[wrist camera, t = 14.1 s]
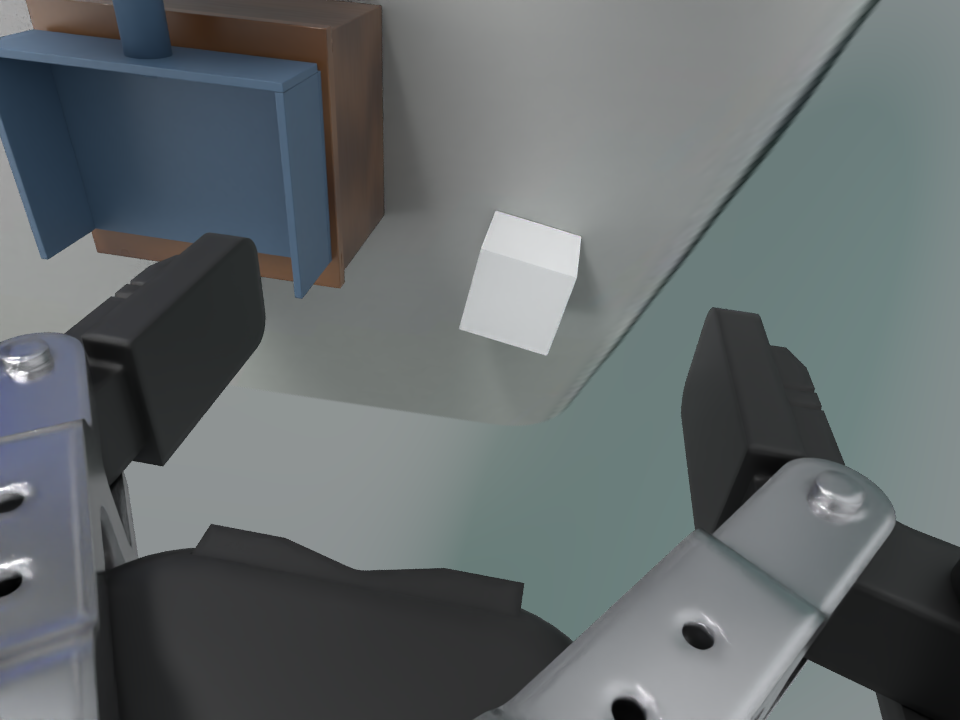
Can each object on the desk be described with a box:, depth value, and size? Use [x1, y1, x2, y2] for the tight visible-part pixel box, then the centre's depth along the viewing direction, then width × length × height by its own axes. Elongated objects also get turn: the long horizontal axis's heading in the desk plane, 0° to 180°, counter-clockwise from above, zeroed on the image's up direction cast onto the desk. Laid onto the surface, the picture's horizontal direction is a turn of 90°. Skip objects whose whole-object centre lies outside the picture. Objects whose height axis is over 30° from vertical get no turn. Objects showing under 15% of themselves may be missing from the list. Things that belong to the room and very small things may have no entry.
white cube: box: [459, 211, 581, 356], centre depth 44 cm, size 6×6×6 cm
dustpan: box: [0, 0, 332, 299], centre depth 31 cm, size 20×14×4 cm
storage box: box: [26, 0, 384, 288], centre depth 40 cm, size 15×15×10 cm
